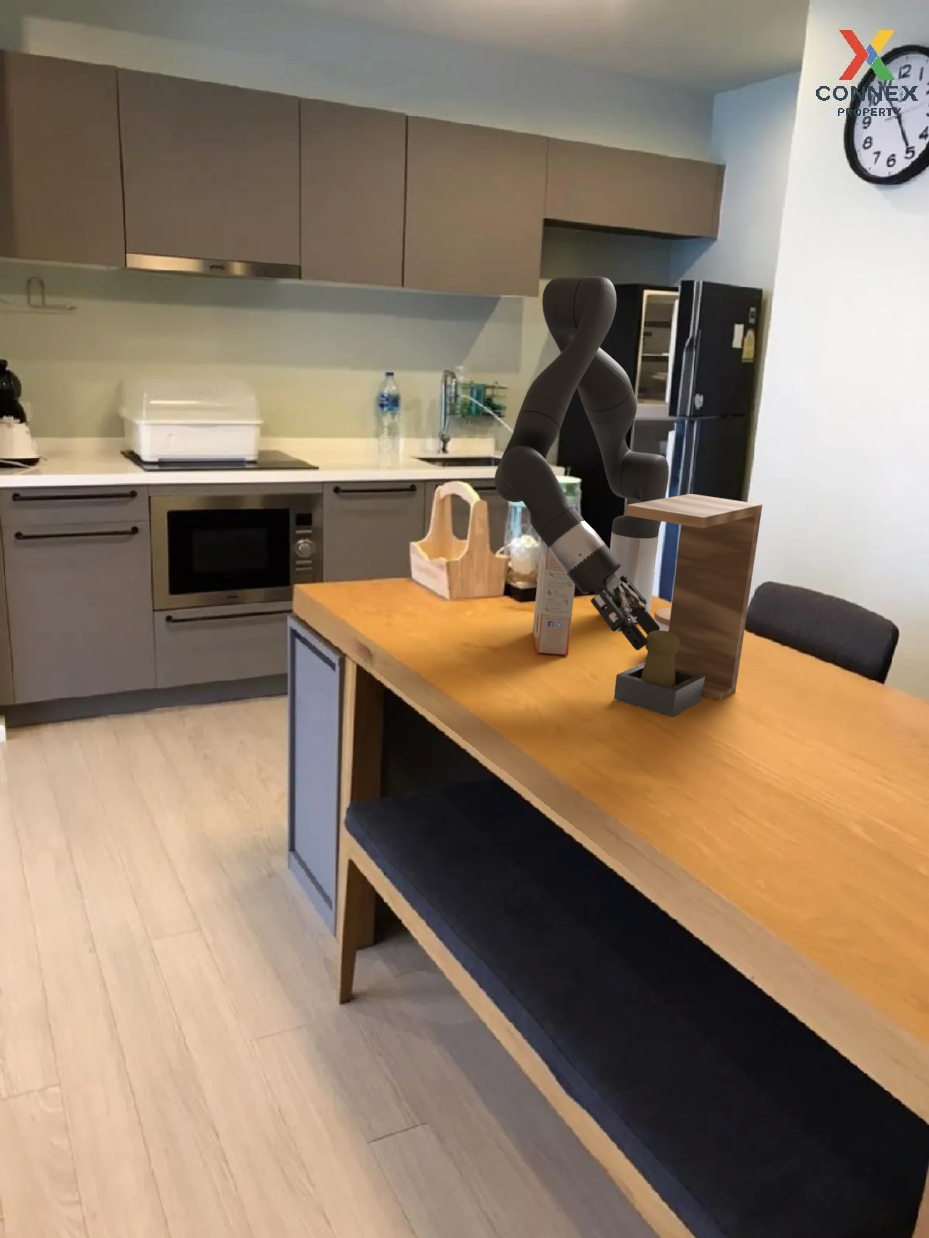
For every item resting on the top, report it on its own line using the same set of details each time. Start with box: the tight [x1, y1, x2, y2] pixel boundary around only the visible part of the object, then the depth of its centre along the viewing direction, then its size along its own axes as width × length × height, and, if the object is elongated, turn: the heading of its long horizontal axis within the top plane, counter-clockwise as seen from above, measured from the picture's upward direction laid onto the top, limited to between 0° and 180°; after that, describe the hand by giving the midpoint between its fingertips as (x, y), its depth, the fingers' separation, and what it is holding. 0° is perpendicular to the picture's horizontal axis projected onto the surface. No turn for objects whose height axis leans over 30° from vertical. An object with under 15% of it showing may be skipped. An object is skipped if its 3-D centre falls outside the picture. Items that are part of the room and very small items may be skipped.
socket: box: [613, 661, 705, 717], centre depth 151 cm, size 10×10×4 cm
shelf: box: [625, 493, 763, 701], centre depth 149 cm, size 21×12×30 cm, turn 142°
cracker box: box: [532, 538, 576, 656], centre depth 174 cm, size 14×6×21 cm, turn 179°
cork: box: [641, 630, 680, 687], centre depth 150 cm, size 6×6×11 cm
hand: (649, 639), depth 150 cm, fingers open, 8 cm apart
